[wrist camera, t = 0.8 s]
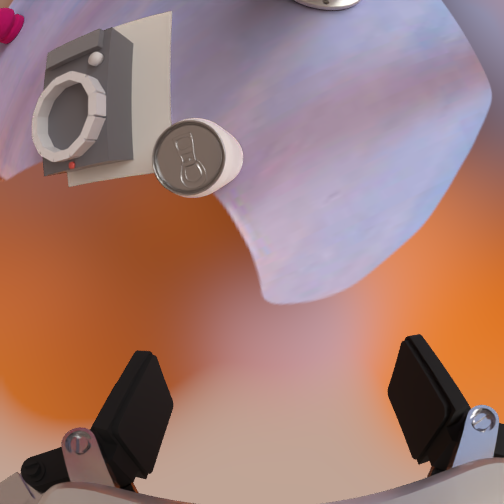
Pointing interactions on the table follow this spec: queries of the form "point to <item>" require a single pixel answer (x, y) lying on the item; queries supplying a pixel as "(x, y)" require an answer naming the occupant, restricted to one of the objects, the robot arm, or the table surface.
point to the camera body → (86, 104)
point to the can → (196, 158)
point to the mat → (142, 98)
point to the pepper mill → (9, 25)
